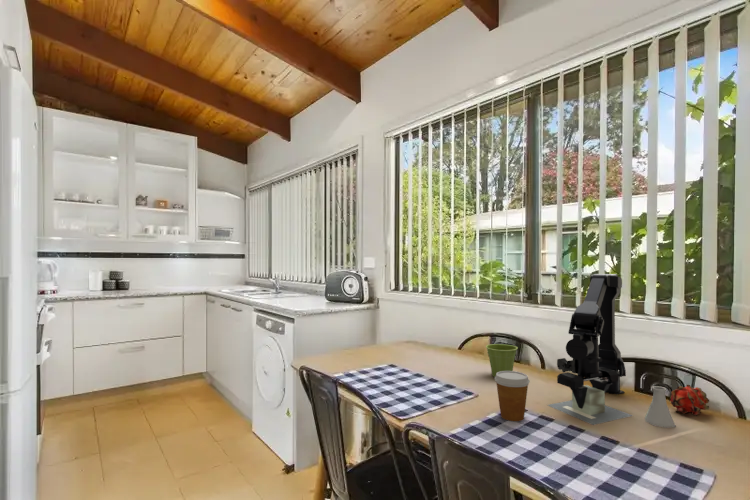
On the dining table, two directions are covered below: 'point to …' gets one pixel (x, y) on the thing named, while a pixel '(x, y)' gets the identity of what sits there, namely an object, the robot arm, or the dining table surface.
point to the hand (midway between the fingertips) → (588, 406)
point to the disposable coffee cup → (512, 394)
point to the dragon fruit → (689, 399)
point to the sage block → (591, 401)
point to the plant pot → (501, 357)
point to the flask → (659, 409)
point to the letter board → (592, 419)
